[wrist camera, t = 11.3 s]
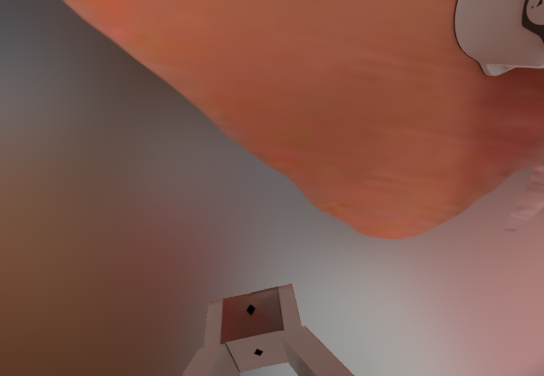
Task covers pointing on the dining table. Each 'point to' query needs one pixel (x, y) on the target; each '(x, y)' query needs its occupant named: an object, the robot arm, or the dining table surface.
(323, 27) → the dining table surface
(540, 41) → the robot arm
